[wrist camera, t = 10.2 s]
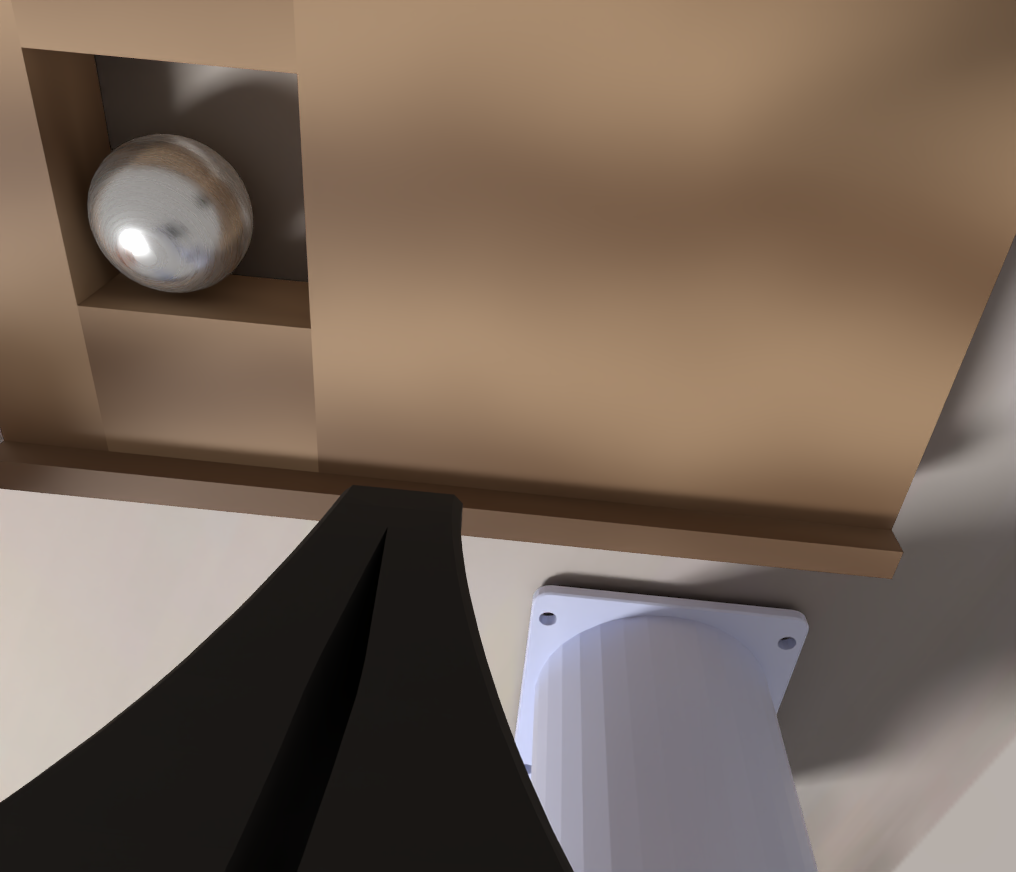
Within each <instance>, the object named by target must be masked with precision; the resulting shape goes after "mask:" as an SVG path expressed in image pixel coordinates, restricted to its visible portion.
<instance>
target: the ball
mask: <svg viewBox="0 0 1016 872" xmlns="http://www.w3.org/2000/svg"><path fill="white" fill-rule="evenodd" d="M87 208H88V218H89V223H90V227H91V230H92V233H93V236H94V238H95V240H96V242H97V244H98V246H99V248H100V249H101V251H102V252H103V254H104V255H105V256H106V258H107V259H108V260H109V261H110V262H111V263H112V264H113V265H114V266H115V267H116V268H117V269H118V270H119V271H120V272H121V273H123V274H124V275H126V276H127V277H128V278H130V279H132V280H133V281H135V282H137V283H139V284H141V285H143V286H146V287H149V288H152V289H155V290H159V291H164V292H172V293H184V292H193V291H198V290H201V289H205V288H208V287H210V286H212V285H214V284H216V283H218V282H220V281H221V280H223V279H224V278H226V277H227V276H228V275H229V274H230V273H231V272H232V271H233V270H234V269H235V268H236V267H237V266H238V265H239V263H240V262H241V260H242V259H243V257H244V256H245V254H246V252H247V249H248V247H249V244H250V241H251V237H252V231H253V211H252V205H251V201H250V198H249V195H248V192H247V190H246V187H245V185H244V183H243V181H242V180H241V178H240V176H239V175H238V173H237V172H236V171H235V170H234V168H233V167H232V166H231V165H230V164H229V163H228V162H227V161H226V160H225V159H224V158H223V157H222V156H221V155H219V154H218V153H217V152H216V151H214V150H213V149H211V148H210V147H208V146H206V145H204V144H202V143H200V142H198V141H196V140H193V139H190V138H187V137H184V136H178V135H172V134H151V135H146V136H142V137H137V138H135V139H132V140H130V141H128V142H126V143H124V144H122V145H120V146H119V147H117V148H116V149H115V150H113V151H112V152H111V153H110V154H109V155H108V156H107V157H106V158H105V159H104V160H103V162H102V163H101V164H100V166H99V167H98V169H97V170H96V172H95V174H94V176H93V179H92V181H91V184H90V188H89V193H88V202H87Z"/></svg>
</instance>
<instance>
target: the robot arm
mask: <svg viewBox="0 0 1016 872" xmlns="http://www.w3.org/2000/svg"><path fill="white" fill-rule="evenodd" d="M462 510H463V503H462V502H461V501H460V500H459V499H458V498H457V497H456V496H455V495H454V494H444V493H433V492H423V491H412V490H402V489H391V488H381V487H371V486H360V485H352V486H351V487H349V488H348V489H346V490H345V491H344V492H343V493H342V494H341V495H340V497H339V498H338V499H337V500H336V502H335V503H334V504H333V505H332V507H331V508H330V509H329V510H328V511H327V513H326V514H325V515H324V516H323V517H322V519H321V520H320V521H319V522H318V523H317V525H316V526H315V527H314V528H313V529H312V530H311V532H310V533H309V534H308V535H307V536H306V537H305V538H304V540H303V541H302V542H301V543H300V544H299V545H298V546H297V547H296V549H295V550H294V551H293V552H292V553H291V554H290V555H289V556H288V557H287V559H286V560H285V561H284V562H283V563H282V564H281V565H280V566H279V567H278V568H277V569H276V570H275V571H274V572H273V573H272V574H271V575H270V576H269V577H268V579H267V580H266V581H265V582H264V583H263V584H262V585H261V586H260V587H259V588H258V589H257V590H256V591H255V592H254V593H253V594H252V595H251V596H250V597H249V598H248V599H247V600H246V601H245V603H244V604H243V605H242V606H241V607H239V608H238V609H237V610H236V611H235V612H234V613H233V614H232V615H231V616H230V617H229V618H228V619H227V620H226V621H225V622H224V623H223V624H222V625H221V626H220V627H218V628H217V629H216V630H215V631H214V632H213V633H212V634H211V635H210V636H209V637H208V638H207V639H206V640H205V641H204V642H203V643H201V644H200V645H199V646H198V647H197V648H196V649H195V650H194V651H193V652H192V653H191V654H190V655H189V656H188V657H187V658H185V659H184V660H183V661H182V662H181V663H180V664H179V665H178V666H176V667H175V668H174V669H173V670H172V671H171V672H170V673H168V674H167V675H166V676H165V677H164V678H163V679H162V680H160V681H159V682H158V683H157V684H156V685H155V686H153V687H152V688H151V689H150V690H149V691H147V692H146V693H145V694H144V695H143V696H141V697H140V698H139V699H138V700H137V701H135V702H134V703H133V704H132V705H130V706H129V707H128V708H127V709H125V710H124V711H123V712H122V713H120V714H119V715H118V716H117V717H115V718H114V719H113V720H112V721H110V722H109V723H108V724H107V725H105V726H104V727H103V728H102V729H100V730H99V731H98V732H96V733H95V734H94V735H93V736H91V737H90V738H88V739H87V740H86V741H84V742H83V743H82V744H80V745H79V746H78V747H76V748H75V749H74V750H72V751H71V752H70V753H68V754H67V755H66V756H64V757H63V758H61V759H60V760H59V761H57V762H56V763H55V764H53V765H52V766H51V767H49V768H48V769H47V770H45V771H44V772H43V773H41V774H40V775H39V776H37V777H36V778H34V779H33V780H32V781H30V782H29V783H27V784H26V785H25V786H23V787H22V788H20V789H19V790H18V791H16V792H15V793H13V794H12V795H10V796H9V797H8V798H6V799H5V800H3V801H2V802H0V872H818V870H817V866H816V862H815V858H814V855H813V851H812V847H811V843H810V840H809V836H808V832H807V828H806V825H805V821H804V817H803V813H802V810H801V806H800V802H799V798H798V795H797V791H796V787H795V783H794V780H793V776H792V772H791V768H790V765H789V761H788V757H787V753H786V749H785V746H784V742H783V738H782V734H781V731H780V727H779V723H778V719H777V716H776V715H777V712H778V710H779V707H780V704H781V702H782V699H783V697H784V694H785V691H786V689H787V686H788V684H789V681H790V678H791V676H792V673H793V671H794V668H795V665H796V663H797V660H798V657H799V655H800V652H801V650H802V647H803V644H804V642H805V639H806V637H807V634H808V630H809V626H808V623H807V620H806V618H805V616H804V614H802V613H801V612H799V611H796V610H789V609H780V608H770V607H760V606H750V605H740V604H731V603H721V602H711V601H701V600H691V599H682V598H672V597H662V596H652V595H642V594H632V593H623V592H613V591H603V590H593V589H583V588H574V587H564V586H554V585H547V586H543V587H540V588H538V589H537V590H536V591H535V593H534V595H533V600H532V608H531V615H530V623H529V631H528V639H527V647H526V654H525V662H524V670H523V678H522V685H521V693H520V701H519V709H518V717H517V724H516V732H515V740H514V738H513V735H512V733H511V730H510V727H509V725H508V722H507V719H506V717H505V714H504V711H503V708H502V705H501V702H500V700H499V697H498V694H497V691H496V688H495V684H494V681H493V678H492V675H491V672H490V669H489V666H488V663H487V659H486V656H485V652H484V649H483V645H482V642H481V638H480V635H479V631H478V627H477V622H476V618H475V614H474V610H473V606H472V602H471V598H470V593H469V588H468V583H467V578H466V572H465V565H464V558H463V551H462V541H461V527H462ZM546 612H550V613H553V614H554V615H552V616H546V615H543V613H546ZM784 637H791V638H788V639H786V640H780V639H782V638H784Z"/></svg>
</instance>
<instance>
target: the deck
mask: <svg viewBox="0 0 1016 872" xmlns="http://www.w3.org/2000/svg"><path fill="white" fill-rule="evenodd" d="M94 54H96V55H107V56H117V57H128V58H138V59H149V60H159V61H170V62H180V63H190V64H201V65H211V66H222V67H232V68H243V69H253V70H264V71H274V72H285V73H295V74H297V80H298V98H299V117H300V135H301V154H302V172H303V191H304V209H305V228H306V246H307V265H308V282H301V281H291V280H281V279H271V278H261V277H250V276H240V275H230V274H229V275H228V276H227V277H226V278H224V279H223V280H221V281H220V282H218V283H216V284H214V285H212V286H210V287H208V288H205V289H201V290H198V291H193V292H184V293H172V292H164V291H159V290H155V289H152V288H149V287H146V286H143V285H141V284H139V283H137V282H135V281H133V280H132V279H130V278H128V277H127V276H126V275H124V274H123V273H121V272H120V271H119V270H118V269H117V268H116V267H115V266H114V265H113V264H112V263H111V262H110V261H109V260H108V259H107V258H106V256H105V255H104V254H103V252H102V251H101V249H100V248H99V246H98V244H97V242H96V240H95V238H94V236H93V233H92V230H91V227H90V223H89V218H88V208H87V202H88V193H89V188H90V184H91V181H92V179H93V176H94V174H95V172H96V170H97V169H98V167H99V166H100V164H101V163H102V162H103V160H104V159H105V158H106V157H107V156H108V155H109V154H110V153H111V149H110V143H109V138H108V132H107V126H106V120H105V115H104V109H103V103H102V97H101V92H100V86H99V80H98V74H97V69H96V63H95V57H94ZM1015 235H1016V0H0V428H1V432H2V435H3V438H4V441H3V442H2V443H1V444H0V488H1V489H10V490H20V491H30V492H40V493H50V494H60V495H70V496H79V497H89V498H99V499H109V500H119V501H129V502H139V503H148V504H158V505H168V506H178V507H188V508H198V509H208V510H217V511H227V512H237V513H247V514H257V515H267V516H276V517H286V518H296V519H306V520H316V521H320V520H321V519H322V517H323V516H324V515H325V514H326V513H327V511H328V510H329V509H330V508H331V507H332V505H333V504H334V503H335V502H336V500H337V499H338V498H339V497H340V495H341V494H342V493H343V492H344V491H345V490H346V489H348V488H349V487H351V486H352V485H360V486H371V487H381V488H391V489H402V490H412V491H423V492H433V493H444V494H454V495H455V496H456V497H457V498H458V499H459V500H460V501H461V502H462V503H463V510H462V527H461V535H464V536H474V537H483V538H493V539H503V540H513V541H523V542H533V543H543V544H552V545H562V546H572V547H582V548H592V549H602V550H612V551H621V552H631V553H641V554H651V555H661V556H671V557H681V558H690V559H700V560H710V561H720V562H730V563H740V564H750V565H759V566H769V567H779V568H789V569H799V570H809V571H818V572H828V573H838V574H848V575H858V576H868V577H878V578H887V579H892V577H893V575H894V573H895V570H896V568H897V566H898V564H899V561H900V559H901V557H902V554H903V551H902V549H901V547H900V545H899V543H898V541H897V539H896V538H895V536H894V534H893V532H892V528H893V525H894V523H895V521H896V518H897V516H898V513H899V511H900V509H901V506H902V504H903V501H904V499H905V497H906V494H907V492H908V490H909V487H910V485H911V482H912V480H913V478H914V475H915V473H916V470H917V468H918V466H919V463H920V461H921V459H922V456H923V454H924V451H925V449H926V447H927V444H928V442H929V439H930V437H931V435H932V432H933V430H934V428H935V425H936V423H937V420H938V418H939V416H940V413H941V411H942V409H943V406H944V404H945V401H946V399H947V397H948V394H949V392H950V389H951V387H952V385H953V382H954V380H955V378H956V375H957V373H958V370H959V368H960V366H961V363H962V361H963V358H964V356H965V354H966V351H967V349H968V347H969V344H970V342H971V339H972V337H973V335H974V332H975V330H976V327H977V325H978V323H979V320H980V318H981V316H982V313H983V311H984V308H985V306H986V304H987V301H988V299H989V297H990V294H991V292H992V289H993V287H994V285H995V282H996V280H997V277H998V275H999V273H1000V270H1001V268H1002V266H1003V263H1004V261H1005V258H1006V256H1007V254H1008V251H1009V249H1010V246H1011V244H1012V242H1013V239H1014V237H1015Z"/></svg>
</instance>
